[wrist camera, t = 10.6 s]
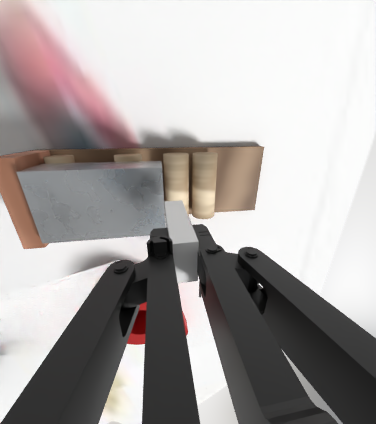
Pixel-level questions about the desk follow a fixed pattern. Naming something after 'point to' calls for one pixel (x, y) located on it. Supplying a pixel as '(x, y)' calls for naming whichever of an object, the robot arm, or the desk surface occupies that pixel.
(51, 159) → the roller
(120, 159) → the roller
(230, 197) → the board
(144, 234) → the slab
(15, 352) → the desk surface
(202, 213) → the roller
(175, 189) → the cylinder
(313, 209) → the desk surface
